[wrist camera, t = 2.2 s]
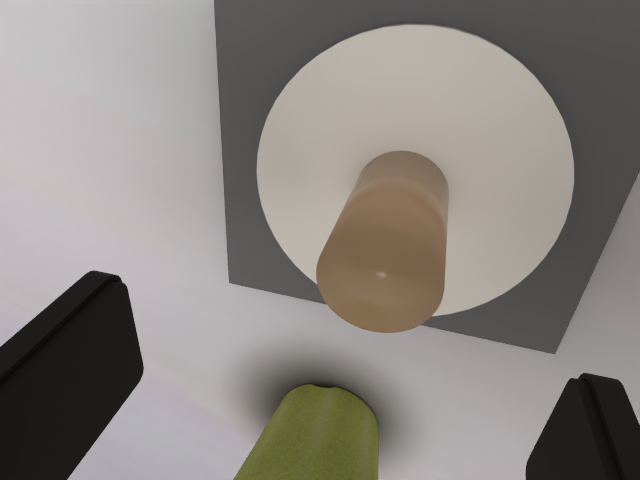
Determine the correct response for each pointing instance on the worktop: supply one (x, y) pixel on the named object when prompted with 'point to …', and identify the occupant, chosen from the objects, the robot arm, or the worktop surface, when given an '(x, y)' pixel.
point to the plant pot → (316, 439)
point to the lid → (414, 173)
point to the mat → (513, 36)
